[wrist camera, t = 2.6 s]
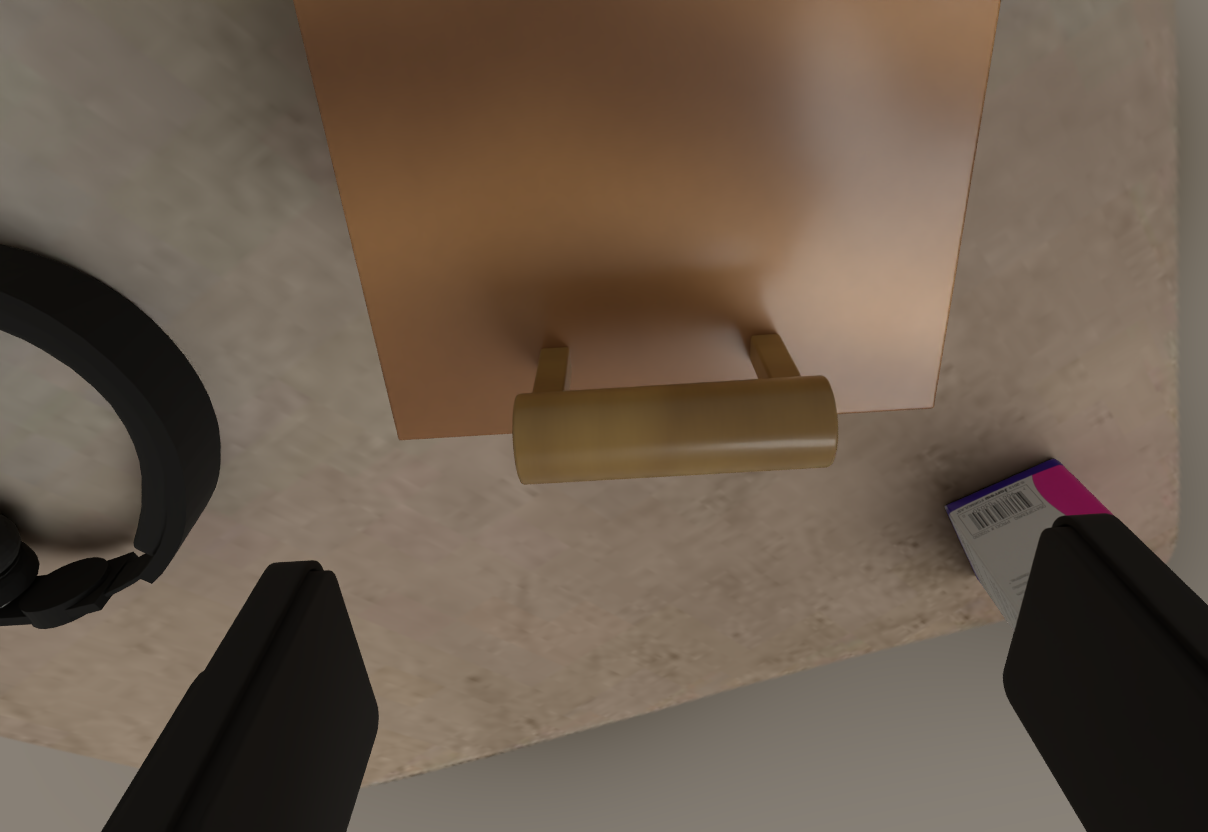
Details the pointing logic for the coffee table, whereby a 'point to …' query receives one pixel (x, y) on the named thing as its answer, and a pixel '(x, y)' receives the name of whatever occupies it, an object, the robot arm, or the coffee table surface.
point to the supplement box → (1016, 527)
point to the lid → (653, 217)
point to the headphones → (147, 409)
